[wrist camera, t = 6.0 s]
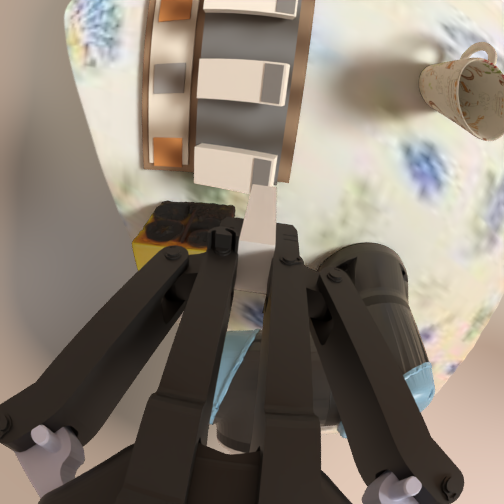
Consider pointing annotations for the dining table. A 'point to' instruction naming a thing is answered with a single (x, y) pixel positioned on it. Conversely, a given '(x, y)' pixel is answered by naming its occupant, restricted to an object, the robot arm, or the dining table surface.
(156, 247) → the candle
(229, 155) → the block
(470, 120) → the mug
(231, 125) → the switch board
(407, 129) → the dining table surface
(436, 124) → the dining table surface
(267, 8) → the block
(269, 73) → the rocker middle
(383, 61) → the dining table surface
